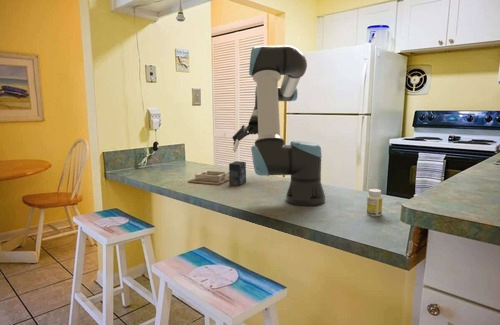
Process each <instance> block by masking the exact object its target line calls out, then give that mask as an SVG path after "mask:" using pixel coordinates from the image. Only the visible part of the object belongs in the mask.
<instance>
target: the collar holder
mask: <svg viewBox="0 0 500 325" xmlns="http://www.w3.org/2000/svg"><path fill="white" fill-rule="evenodd" d="M187 183H188V184H199V185H210V186H221V185H223V184H225V183H229V171H220V170H219V171H218V170H204V171H202V172H199V173H196V174H194V178H193V179H189V180H188V181H187Z"/></svg>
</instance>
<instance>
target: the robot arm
mask: <svg viewBox="0 0 500 325" xmlns="http://www.w3.org/2000/svg"><path fill="white" fill-rule="evenodd" d="M249 57H250V58H249V71H248V74H249V76H251V77H252V80H253V81H254V82H255V83H256V87H255V92H254V94H255V96H254V98H255V99H254V101H255V102H254V108H253V111H252V113H251V116H250V118H249V121H248V125H247V126H245V125H244V124H243V125H242V126H241V127H240V129H238V131H237V132H236V133H235V134H234V135H233V136H232V137H231V138H232V140H233V143H232V145H233V147H232V150H233V152H234V153H237V150H238V147H239V144H240V141H241V140H242V139H244V138H246V137H247V136H249V135H258V136H257V138H256V139H255V141H254V145H252V146H251V147H250V148H251V149H250V150H251V156H252V157H251V158H252V164H253V168H254V169H253V170H254V172H255V174H256V175H257V176H265V177H269V176H290V182H289V185H288V189H287V192H286V196H285V197H286V198H285V199H286V202H287V203H288V204H291V205H295V206H303V207H309V206H310V207H311V206H319V205H322V204H324V203H325V202H326V194H325V191H324V189H323V188H324V187H323V185H322V184H323V183H322V179H321V178H322V157H323V156H322V148H321V146H320V145H319V144H318V143H314V142H310V141H309V142H308V141H300V140H292V141H290V143H289V144H285V139H284V138H282V137H281V129H280V128H281V126H280V108H279V107H280V105H279V102H293V101H297V99H298V88H297V86H298V84H299V82H300V79H301V78H302V77H303V76H304V75H305V73H306V70H307V67H308V63H307V59H306V57H305V55H304V54H303V52H302V51H301V50H299V49H298V48H296V47H295V46H292V45H258V46H257V45H256V46H253V47H252V48H251V51H250V56H249ZM282 76H283V77H282ZM281 79H282V81H281V84H280V86H279V84H278V82H279V81H280V80H281Z"/></svg>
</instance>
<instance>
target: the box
mask: <svg viewBox="0 0 500 325" xmlns="http://www.w3.org/2000/svg"><path fill="white" fill-rule="evenodd" d="M228 172H229V181H228V185H229V186H236V187H240V186H242V185H244V184H245V183H247V163H246V161H237V160H236V161H233V162H230V163H229V164H228Z"/></svg>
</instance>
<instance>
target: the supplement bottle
mask: <svg viewBox="0 0 500 325" xmlns="http://www.w3.org/2000/svg"><path fill="white" fill-rule="evenodd" d="M366 198H367V199H366V213H367V215H368V216H371V217H379V216H382V212H383V210H382V209H383V196H382V190H381V189H379V188H378V189H377V188H370V189H368V195H367V197H366Z"/></svg>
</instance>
